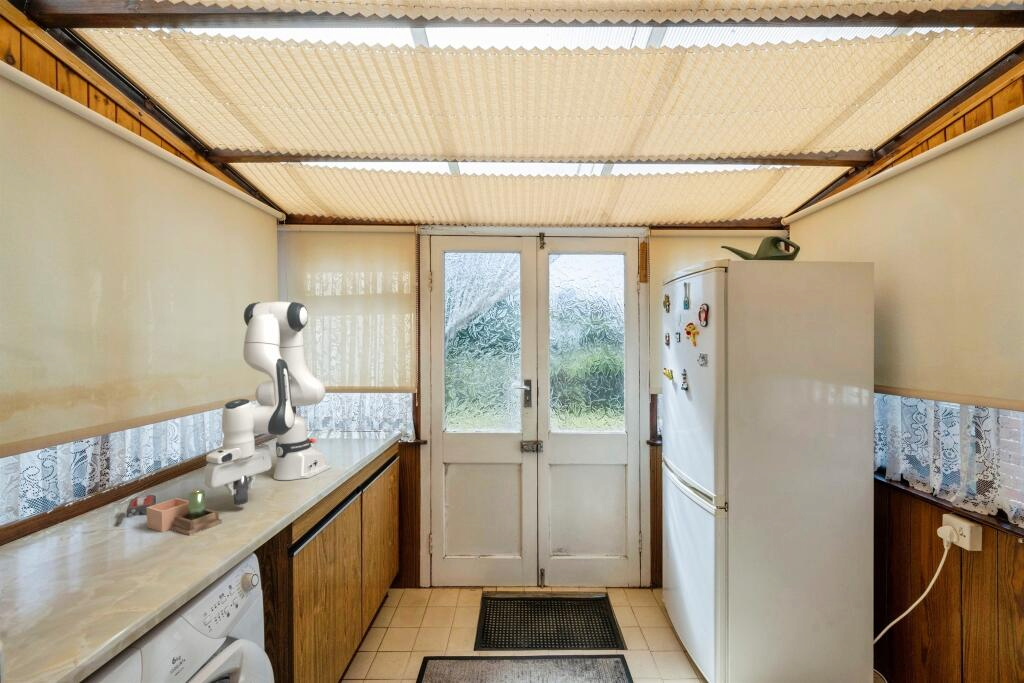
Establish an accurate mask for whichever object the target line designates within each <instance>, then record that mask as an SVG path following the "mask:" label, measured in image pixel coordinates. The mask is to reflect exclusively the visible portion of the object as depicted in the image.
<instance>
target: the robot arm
mask: <svg viewBox="0 0 1024 683" xmlns="http://www.w3.org/2000/svg"><path fill="white" fill-rule="evenodd" d="M243 319H244V324H245V325H246V326H247V328H246V331H245V335H244V341H243V350H242V354H243V355H242V356H243V359H244V361H245V363H246V364H247V365H248V367H250V368H252V369H254V370H256V371H258V372H260V373H263V374H265V375H267V376H268V377H269V378H271V380H266V381H262V382H260V383H259V384H258V385H257V387H256V389H255V392H254V393H255V400H256V402H257V404H259V405H257V404H253V403H252V402H251V400H249V399H248V398H247V399H246V398H241V399H234V400H233V399H232V400H230V401H228V402H227V403H225V404H224V406H223V409H222V414H221V430H222V434H223V440H222V446H220V447H218V448H217V449H215V450H213V451H212V452H210V453H208V454H207V455H206V457H205V461H206V462H207V464H206V465H205V468H204V474H203V476H204V478H203V479H204V481H203V482H204V485H205V486H206V487H207V488H210V489H215V488H218V487H222V486H224V487H225V488H226V489H227V490H228V493H227V494H228V496H234V495H235V494H236V489H234V488H233V482H234V481H237V480H240V479H241V477H242V476H245V475H246V477H247V481H248V491H249V490H251V489H253V483H254V481H255V479H256V477H257V476H256V475H258V474H261V473H265V472H267V471H269V470H270V469H271V468H272V465H273V464H272V457H271V454H270V449H271V448H270V446H269V445H268V444H266V443H261V444H255V442H256V440H255V436H254V435H255V434H256V435H274V436H276V442H275V453H276V460H275V461H276V463H275V468H274V474H273V476H272V478H273V480H277V481H292V480H293V481H294V480H299V479H309V478H312V477H314V476H316V475H319V474H320V473H323V472H325V471H327V470H329V469H331V468H332V464H331V463H328V462H326V456H325V454H324V453H323V452H321V451H320V450H318V449H317V448H314V446H312V444H316V443H317V439H316V438H308V422H307V420H306V418H305V417H303V416H302V415H299V414H297V413H295V411H294V408H293V407H309V406H313V405H318V404H320V403H321V402H322V401H323V400H324V398H325V397H326V387H325V384H324V383H323V382H322V381H321V380H320V379H318V378H317V377H315V376H314V375H313V373H312V372H311V371H310V370H309V368H308V366H307V362H306V355H305V343H304V342H305V341H304V334H303V331H302V329H304V328H305V326H306V325H308V320H309V313H308V309H307V307H306V306H305V305H304V304H303V303H300V302H296V301H292V302H290V301H281V300H279V301H266V302H265V301H264V302H259V301H258V302H252V303H249V304H248V305H246V307H245V309H244V312H243Z"/></svg>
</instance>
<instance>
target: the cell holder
mask: <svg viewBox="0 0 1024 683" xmlns="http://www.w3.org/2000/svg"><path fill="white" fill-rule="evenodd" d="M222 521H223V520H222V519H221V518H220V511H216V510H214V509H209V508H206V507H205V516H203V517H200V518H197V519H194V520H189V513H186V514H183V515H180V516H178V517H175V518H174V524H175V525H174V526H172V529H173V530H172V529H171V530H172V531H174V530H176V531H175V532H177V531H179V533H181V532H182V533H181V534H184V533H185V535H187V534H189V535H188V536H191V535H190V534H192V535H194V534H193V533H195V532H197V533H199V532H198V531H200V530H202V531H204V530H203V529H205V530H207V529H206V528H208V529H210V528H212V526H213V527H215V526H217V525H216V524H218V525H220V524H222V523H223V522H222ZM219 523H220V524H219ZM214 525H215V526H214ZM209 527H210V528H209ZM200 532H201V531H200ZM195 534H196V533H195Z"/></svg>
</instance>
